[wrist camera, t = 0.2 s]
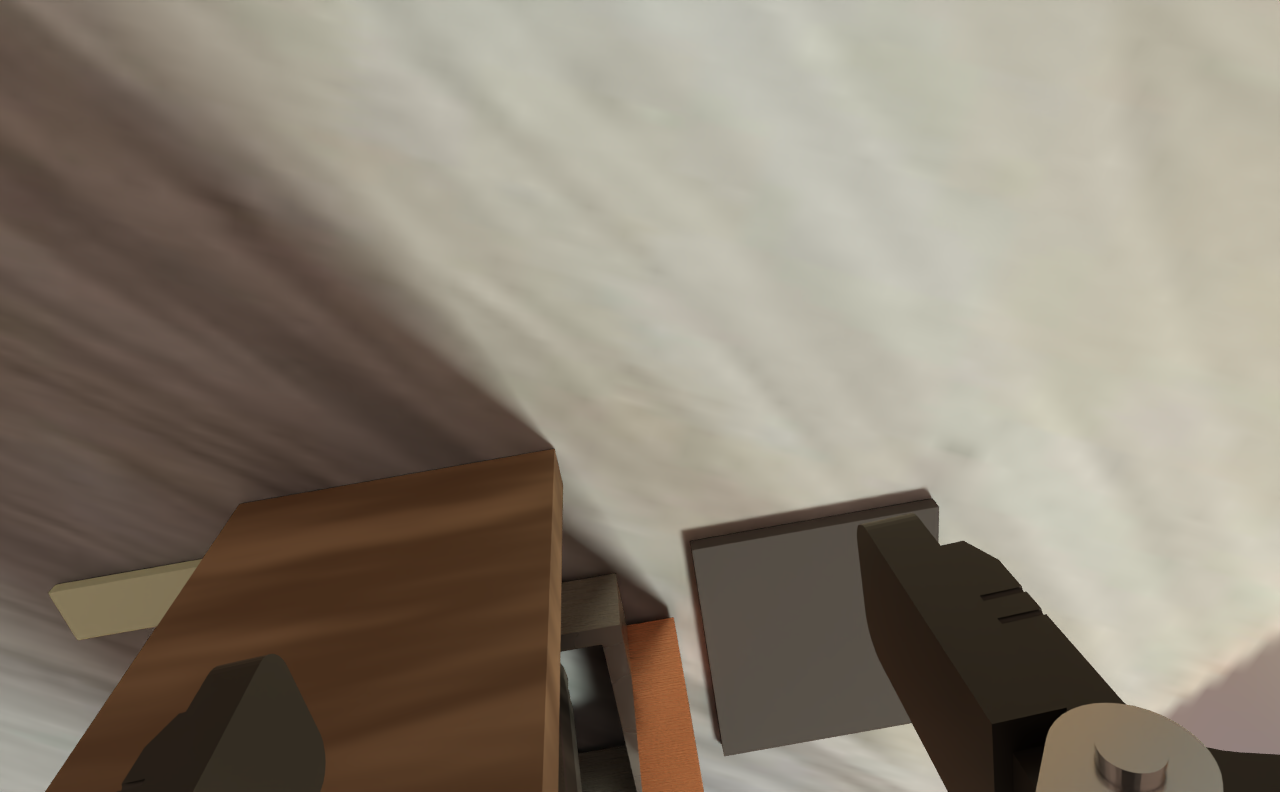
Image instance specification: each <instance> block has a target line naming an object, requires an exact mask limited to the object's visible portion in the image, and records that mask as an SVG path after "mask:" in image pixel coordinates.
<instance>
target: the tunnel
mask: <svg viewBox="0 0 1280 792" xmlns="http://www.w3.org/2000/svg"><path fill="white" fill-rule="evenodd" d="M562 511H563V483H562V478H561V474H560V470H559V466H558V461H557V457H556V453H555V449H550V450H544V451H539V452H533V453H527V454H522V455H516V456H510V457H505V458H499V459H493V460H487V461H482V462H476V463H470V464H465V465H459V466H453V467H448V468H442V469H436V470H431V471H425V472H419V473H413V474H408V475H402V476H396V477H391V478H385V479H379V480H374V481H368V482H362V483H357V484H351V485H345V486H339V487H334V488H328V489H322V490H317V491H311V492H305V493H300V494H294V495H288V496H283V497H277V498H271V499H265V500H260V501H254V502H248V503H243V504H239V505H238V507H237V508H236V510H235V511H234V513H233V514H232V516H231V517H230V519H229V520H228V522H227V523H226V525H225V526H224V528H223V529H222V531H221V532H220V534H219V535H218V537H217V538H216V540H215V541H214V543H213V544H212V545H211V547H210V548H209V550H208V551H207V553H206V554H205V556H204V557H203V559H202V560H201V562H200V563H199V565H198V566H197V568H196V569H195V571H194V572H193V574H192V575H191V577H190V578H189V580H188V581H187V582H186V584H185V585H184V587H183V588H182V590H181V591H180V593H179V594H178V596H177V597H176V599H175V600H174V602H173V603H172V605H171V606H170V608H169V609H168V611H167V612H166V614H165V615H164V617H163V618H162V620H161V621H160V622H159V624H158V625H157V627H156V628H155V630H154V631H153V633H152V634H151V636H150V637H149V639H148V640H147V642H146V643H145V645H144V646H143V648H142V649H141V651H140V652H139V654H138V655H137V657H136V658H135V659H134V661H133V662H132V664H131V665H130V667H129V668H128V670H127V671H126V673H125V674H124V676H123V677H122V679H121V680H120V682H119V683H118V685H117V686H116V688H115V689H114V691H113V692H112V694H111V695H110V696H109V698H108V699H107V701H106V702H105V704H104V705H103V707H102V708H101V710H100V711H99V713H98V714H97V716H96V717H95V719H94V720H93V722H92V723H91V725H90V726H89V728H88V729H87V731H86V732H85V734H84V735H83V736H82V738H81V739H80V741H79V742H78V744H77V745H76V747H75V748H74V750H73V751H72V753H71V754H70V756H69V757H68V759H67V760H66V762H65V763H64V765H63V766H62V768H61V769H60V771H59V772H58V773H57V775H56V776H55V778H54V779H53V781H52V782H51V784H50V785H49V787H48V788H47V790H46V791H45V792H117V791H121V790H122V785H121V784H122V782H123V781H124V779H125V777H126V776H127V774H128V773H129V771H130V769H131V768H132V766H133V765H134V763H135V761H136V760H137V758H138V757H139V755H140V753H141V752H142V750H143V749H144V747H145V746H146V745H147V744H148V743H149V742H150V741H151V740H152V739H153V738H154V737H156V736H157V735H158V734H159V733H160V732H161V731H162V730H163V729H164V728H165V727H166V726H167V725H168V724H169V723H170V722H171V721H172V720H173V719H174V718H175V717H176V716H177V715H178V714H179V713H183V712H186V710H187V709H188V707H189V705H190V704H191V702H192V700H193V699H194V697H195V695H196V694H197V692H198V690H199V689H200V687H201V685H202V684H203V682H204V680H205V679H206V677H207V675H208V674H209V673H210V671H211V670H212V669H213V668H215V667H216V666H219V665H223V664H228V663H232V662H237V661H241V660H246V659H250V658H255V657H259V656H264V655H268V654H276V655H278V656H280V657H281V658H282V659H283V660H284V662H285V663H286V665H287V667H288V669H289V671H290V673H291V675H292V677H293V679H294V681H295V683H296V685H297V687H298V689H299V691H300V693H301V695H302V697H303V699H304V701H305V703H306V705H307V707H308V710H309V712H310V714H311V716H312V718H313V720H314V722H315V724H316V726H317V728H318V730H319V732H320V734H321V737H322V740H323V744H324V749H325V760H326V766H325V776H324V782H323V785H322V788H321V791H320V792H558V772H559V707H560V642H561V576H562Z"/></svg>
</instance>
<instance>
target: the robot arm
mask: <svg viewBox="0 0 1280 792" xmlns="http://www.w3.org/2000/svg"><path fill="white" fill-rule="evenodd" d="M857 544H858V553H859V561H860V570H861V579H862V588H863V596H864V605H865V613H866V620H867V625H868V629H869V633H870V636H871V640H872V643H873V646H874V649H875V651H876V654H877V656H878V659H879V661H880V663H881V665H882V667H883V669H884V671H885V673H886V675H887V676H888V678H889V680H890V682H891V684H892V686H893V688H894V690H895V692H896V694H897V695H898V697H899V699H900V701H901V703H902V705H903V707H904V709H905V711H906V713H907V715H908V716H909V718H910V720H911V722H912V724H913V726H914V728H915V730H916V732H917V734H918V735H919V737H920V739H921V741H922V743H923V745H924V747H925V749H926V751H927V753H928V755H929V756H930V758H931V760H932V762H933V764H934V766H935V768H936V770H937V772H938V774H939V776H940V777H941V779H942V781H943V783H944V785H945V787H946V789H947V791H948V792H1280V755H1275V754H1257V753H1239V752H1231V751H1222V750H1217V749H1212V748H1207V747H1205V746H1204V744H1203V743H1202V742H1201V741H1200V740H1199V739H1197V738H1196V737H1195V736H1194V735H1193V734H1192V733H1191V732H1189V731H1188V730H1186V729H1185V728H1183V727H1182V726H1180V725H1179V724H1177V723H1176V722H1174V721H1172V720H1170V719H1168V718H1166V717H1164V716H1162V715H1160V714H1157V713H1155V712H1152V711H1150V710H1146V709H1143V708H1139V707H1136V706H1131V705H1126V704H1125V703H1124V702H1123V701H1122V700H1121V699H1120V698H1119V697H1118V695H1117V694H1116V693H1115V692H1114V691H1113V690H1112V689H1111V688H1110V686H1109V685H1108V684H1107V683H1106V682H1105V681H1104V680H1103V678H1102V677H1101V676H1100V675H1099V674H1098V673H1097V672H1096V670H1095V669H1094V668H1093V667H1092V666H1091V665H1090V664H1089V662H1088V661H1087V660H1086V659H1085V658H1084V657H1083V656H1082V654H1081V653H1080V652H1079V651H1078V650H1077V649H1076V648H1075V646H1074V645H1073V644H1072V643H1071V642H1070V641H1069V640H1068V638H1067V637H1066V636H1065V635H1064V634H1063V633H1062V632H1061V630H1060V629H1059V628H1058V627H1057V626H1056V625H1055V624H1054V622H1053V621H1052V620H1051V619H1050V618H1049V617H1048V616H1047V614H1046V615H1043V613H1042V610H1041V608H1040V607H1039V605H1038V604H1037V603H1036V602H1035V601H1034V600H1033V599H1032V597H1031V596H1030V595H1029V594H1028V593H1027V592H1023V590H1022V586H1021V585H1020V584H1019V583H1018V581H1017V580H1016V579H1015V578H1014V577H1013V576H1012V575H1011V573H1010V572H1009V571H1008V570H1007V569H1006V568H1005V567H1004V565H1003V564H1002V563H1001V562H1000V561H999V560H998V559H996V558H994V557H992V556H991V555H989V554H987V553H985V552H983V551H981V550H980V549H978V548H976V547H974V546H972V545H970V544H968V543H967V542H965V541H960V542H956V543H951V544H947V545H942V546H940V544H939V543H938V542H937V540H936V539H935V538H934V537H933V535H932V534H931V533H930V531H929V530H928V529H927V528H926V526H925V525H924V524H923V522H922V521H921V520H920V519H919V518H918V516H917V515H915V514H914V513H909V514H905V515H900V516H896V517H891V518H887V519H882V520H878V521H873V522H869V523H864V524H860V525H858V527H857ZM325 766H326V760H325V749H324V744H323V740H322V737H321V734H320V732H319V730H318V728H317V726H316V724H315V722H314V720H313V718H312V716H311V714H310V712H309V710H308V707H307V705H306V703H305V701H304V699H303V697H302V695H301V693H300V691H299V689H298V687H297V685H296V683H295V681H294V679H293V677H292V675H291V673H290V671H289V669H288V667H287V665H286V663H285V662H284V660H283V659H282V658H281V657H280V656H278V655H276V654H268V655H264V656H259V657H255V658H250V659H246V660H241V661H237V662H232V663H228V664H223V665H219V666H216V667H215V668H213V669H212V670H211V671H210V673H209V674H208V675H207V677H206V679H205V680H204V682H203V684H202V685H201V687H200V689H199V690H198V692H197V694H196V695H195V697H194V699H193V700H192V702H191V704H190V705H189V707H188V709H187V710H186V712H183V713H179V714H178V715H177V716H176V717H175V718H174V719H173V720H172V721H171V722H170V723H169V724H168V725H167V726H166V727H165V728H164V729H163V730H162V731H161V732H160V733H159V734H158V735H157V736H156V737H154V738H153V739H152V740H151V741H150V742H149V743H148V744H147V745H146V746H145V747H144V749H143V750H142V752H141V753H140V755H139V757H138V758H137V760H136V761H135V763H134V765H133V766H132V768H131V769H130V771H129V773H128V774H127V776H126V777H125V779H124V781H123V782H122V784H121V785H122V790H121V791H117V792H320V791H321V788H322V785H323V782H324V776H325Z"/></svg>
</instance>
